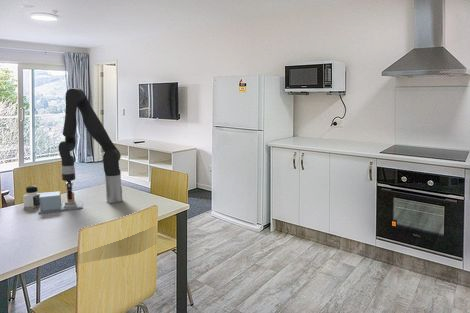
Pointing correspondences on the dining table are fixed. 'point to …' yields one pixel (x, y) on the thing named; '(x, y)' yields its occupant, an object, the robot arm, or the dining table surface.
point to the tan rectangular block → (72, 198)
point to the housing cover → (50, 201)
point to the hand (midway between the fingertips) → (69, 197)
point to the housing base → (65, 207)
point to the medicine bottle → (31, 197)
